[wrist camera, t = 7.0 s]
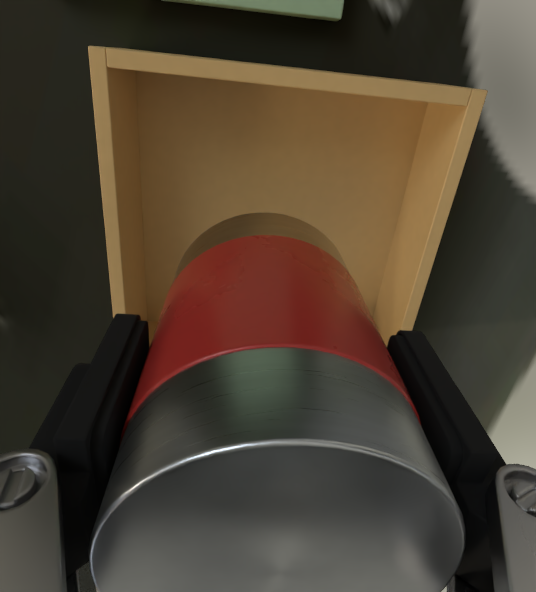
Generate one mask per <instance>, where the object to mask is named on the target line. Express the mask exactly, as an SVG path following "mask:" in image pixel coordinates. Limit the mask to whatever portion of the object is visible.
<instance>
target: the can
mask: <svg viewBox="0 0 536 592" xmlns="http://www.w3.org/2000/svg"><path fill="white" fill-rule="evenodd" d="M464 549H465V524H464V520H463V516H462V513H461V510H460V508H459V506H458V504H457V502H456V500H455V498H454V496H453V493H452V491H451V489H450V487H449V485H448V483H447V481H446V478H445V476H444V474H443V472H442V470H441V468H440V466H439V463H438V461H437V459H436V457H435V455H434V453H433V451H432V449H431V446H430V444H429V442H428V440H427V438H426V436H425V434H424V431H423V429H422V425H421V422H420V418H419V414H418V412H417V410H416V408H415V406H414V404H413V402H412V400H411V398H410V396H409V393H408V391H407V389H406V387H405V385H404V383H403V381H402V379H401V377H400V375H399V372H398V370H397V368H396V366H395V364H394V362H393V360H392V358H391V356H390V354H389V351H388V349H387V347H386V345H385V343H384V341H383V339H382V337H381V335H380V333H379V330H378V328H377V326H376V324H375V322H374V320H373V318H372V316H371V314H370V312H369V309H368V307H367V305H366V303H365V301H364V299H363V297H362V295H361V293H360V291H359V289H358V286H357V284H356V282H355V280H354V279H353V278H352V276H351V275H350V273H349V271H348V269H347V267H346V265H345V263H344V261H343V259H342V256H341V254H340V253H339V251H338V250H337V248H336V247H335V245H334V244H333V243H332V242H331V241H330V240H329V239H328V238H327V237H326V236H325V235H324V234H323V233H322V232H320V231H319V230H318V229H317V228H315V227H313V226H312V225H310V224H308V223H306V222H304V221H302V220H299V219H297V218H294V217H291V216H287V215H284V214H277V213H261V212H258V213H249V214H243V215H239V216H235V217H232V218H229V219H226V220H224V221H221V222H219V223H218V224H216V225H214V226H212V227H210V228H209V229H208V230H206V231H205V232H204V233H202V234H201V235H200V236H199V237H198V238H197V239H196V240H195V241H194V242H193V243H192V244H191V245H190V247H189V248H188V249H187V250H186V252H185V254H184V255H183V257H182V259H181V261H180V263H179V266H178V268H177V271H176V274H175V277H174V280H173V283H172V286H171V288H170V289H169V292H168V294H167V297H166V300H165V302H164V305H163V308H162V311H161V315H160V318H159V321H158V324H157V327H156V330H155V333H154V336H153V339H152V342H151V345H150V348H149V351H148V354H147V357H146V360H145V363H144V366H143V369H142V372H141V375H140V378H139V381H138V384H137V387H136V390H135V393H134V396H133V399H132V402H131V405H130V408H129V411H128V414H127V417H126V420H125V423H124V426H123V430H122V433H121V439H120V444H119V451H118V454H117V457H116V460H115V463H114V466H113V469H112V472H111V475H110V479H109V482H108V485H107V488H106V491H105V494H104V497H103V500H102V503H101V506H100V510H99V513H98V516H97V519H96V522H95V525H94V528H93V531H92V534H91V538H90V544H89V550H88V553H89V566H90V572H91V575H92V578H93V581H94V584H95V585H96V587H97V589H98V591H99V592H441V591H442V590H443V589H444V588H445V587H446V586H447V585H448V583H449V582H450V580H451V579H452V578H453V576H454V575H455V573H456V571H457V569H458V567H459V565H460V563H461V561H462V558H463V554H464Z"/></svg>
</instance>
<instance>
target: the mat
mask: <svg viewBox="0 0 536 592" xmlns="http://www.w3.org/2000/svg"><path fill="white" fill-rule="evenodd" d="M163 1H171V2H179V3H187V4H196V5H204V6H212V7H221V8H229V9H237V10H246V11H254V12H262V13H270V14H279V15H287V16H295V17H304V18H312V19H320V20H329V21H338V20H340V19H341V18H342V11H343V5H344V0H163Z"/></svg>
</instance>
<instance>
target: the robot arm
mask: <svg viewBox="0 0 536 592" xmlns="http://www.w3.org/2000/svg"><path fill="white" fill-rule="evenodd" d="M149 348H150V347H149V327H148V321H142V320H141V317H140V315H136V314H119V313H117V314H116V315H115V316H114V318H113V320H112V322H111V324H110V326H109V328H108V330H107V332H106V334H105V336H104V338H103V340H102V342H101V344H100V346H99V348H98V350H97V352H96V354H95V356H94V358H93V360H92V362H91V364H83V363H78V364H76V365H75V367H74V368H73V369H72V371H71V373H70V375H69V377H68V378H67V380H66V382H65V384H64V386H63V387H62V389H61V391H60V393H59V395H58V396H57V398H56V400H55V402H54V404H53V406H52V407H51V409H50V411H49V413H48V415H47V416H46V418H45V420H44V422H43V424H42V425H41V427H40V429H39V431H38V433H37V435H36V436H35V438H34V440H33V442H32V444H31V445H30V447H29V449H27V448H26V449H19V450H12V451H10V452H7V453H4V454H1V455H0V592H80V587H79V574H78V569H79V568H80V567H82V566H83V565H84V564H86V563H87V562H88V561H89V553H88V550H89V544H90V538H91V534H92V531H93V528H94V525H95V522H96V519H97V516H98V513H99V510H100V506H101V503H102V500H103V497H104V494H105V491H106V488H107V485H108V482H109V479H110V475H111V472H112V469H113V466H114V463H115V460H116V457H117V454H118V451H119V444H120V439H121V433H122V430H123V426H124V423H125V420H126V417H127V414H128V411H129V408H130V405H131V402H132V399H133V396H134V393H135V390H136V387H137V384H138V381H139V378H140V375H141V372H142V369H143V366H144V363H145V360H146V357H147V354H148V351H149ZM387 349H388V351H389V354H390V356H391V358H392V360H393V362H394V364H395V366H396V368H397V370H398V372H399V375H400V377H401V379H402V381H403V383H404V385H405V387H406V389H407V391H408V393H409V396H410V398H411V400H412V402H413V404H414V406H415V408H416V410H417V412H418V414H419V418H420V422H421V425H422V429H423V431H424V434H425V436H426V438H427V440H428V442H429V444H430V446H431V449H432V451H433V453H434V455H435V457H436V459H437V461H438V463H439V466H440V468H441V470H442V472H443V474H444V476H445V478H446V481H447V483H448V485H449V487H450V489H451V491H452V493H453V496H454V498H455V500H456V502H457V504H458V506H459V508H460V510H461V513H462V516H463V520H464V524H465V549H464V554H463V558H462V561H461V563H460V565H459V567H458V569H457V571H456V573H455V575H454V576H453V578H452V579H451V580H450V582H449V583H448V585H447V592H536V469H534V468H531V467H529V466H525V465H520V464H508V465H506V463H505V462H504V460H503V459H502V457H501V455H500V454H499V452H498V451H497V449H496V447H495V446H494V444H493V443H492V441H491V439H490V438H489V436H488V435H487V433H486V431H485V430H484V428H483V427H482V425H481V424H480V422H479V420H478V419H477V417H476V416H475V414H474V412H473V411H472V409H471V408H470V406H469V405H468V403H467V401H466V400H465V398H464V397H463V395H462V393H461V392H460V390H459V389H458V387H457V386H456V385H455V383H454V382H453V380H452V378H451V377H450V375H449V374H448V372H447V370H446V369H445V367H444V366H443V364H442V362H441V361H440V359H439V358H438V356H437V355H436V353H435V351H434V350H433V348H432V347H431V345H430V343H429V342H428V340H427V339H426V337H425V335H424V334H423V333H422V332H420V331H407V330H400V331H398V332H397V334H396V335H392V336H391V337H390V338H389V341H388V345H387Z"/></svg>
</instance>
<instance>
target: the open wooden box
mask: <svg viewBox="0 0 536 592" xmlns="http://www.w3.org/2000/svg"><path fill="white" fill-rule="evenodd" d="M88 52H89V63H90V74H91V84H92V95H93V106H94V116H95V127H96V138H97V148H98V159H99V170H100V181H101V191H102V202H103V213H104V223H105V234H106V245H107V255H108V266H109V277H110V287H111V298H112V309H113V318H114V316H115V315H116V314H117V313H119V314H136V315H140V317H141V320H142V321H148V327H149V347H150V345H151V342H152V339H153V336H154V333H155V330H156V327H157V324H158V321H159V318H160V315H161V311H162V308H163V305H164V302H165V300H166V297H167V294H168V292H169V289H170V288H171V286H172V283H173V280H174V277H175V274H176V271H177V268H178V266H179V263H180V261H181V259H182V257H183V255H184V254H185V252H186V250H187V249H188V248H189V247H190V245H191V244H192V243H193V242H194V241H195V240H196V239H197V238H198V237H199V236H200V235H201V234H202V233H204V232H205V231H206V230H208V229H209V228H210V227H212V226H214V225H216V224H218V223H219V222H221V221H224V220H226V219H229V218H232V217H235V216H239V215H243V214H249V213H258V212H261V213H277V214H284V215H287V216H291V217H294V218H297V219H299V220H302V221H304V222H306V223H308V224H310V225H312V226H313V227H315V228H317V229H318V230H319V231H320V232H322V233H323V234H324V235H325V236H326V237H327V238H328V239H329V240H330V241H331V242H332V243H333V244H334V245H335V247H336V248H337V250H338V251H339V253H340V254H341V256H342V259H343V261H344V263H345V265H346V267H347V269H348V271H349V273H350V275H351V276H352V278H353V279H354V280H355V282H356V284H357V286H358V289H359V291H360V293H361V295H362V297H363V299H364V301H365V303H366V305H367V307H368V309H369V312H370V314H371V316H372V318H373V320H374V322H375V324H376V326H377V328H378V330H379V333H380V335H381V337H382V339H383V341H384V343H385V345H386V347H387V345H388V341H389V338H390V337H391V336H392V335H396V334H397V332H398V331H400V330H407V331H412V329H413V326H414V323H415V319H416V316H417V313H418V310H419V307H420V304H421V300H422V297H423V294H424V291H425V288H426V285H427V282H428V278H429V275H430V272H431V269H432V266H433V263H434V259H435V256H436V253H437V250H438V247H439V244H440V241H441V237H442V234H443V231H444V228H445V225H446V222H447V218H448V215H449V212H450V209H451V206H452V203H453V200H454V196H455V193H456V190H457V187H458V184H459V181H460V177H461V174H462V171H463V168H464V165H465V162H466V159H467V155H468V152H469V149H470V146H471V143H472V140H473V136H474V133H475V130H476V127H477V124H478V121H479V118H480V114H481V111H482V108H483V105H484V102H485V99H486V95H487V92H488V91H487V90H482V89H474V88H467V87H460V86H453V85H445V84H438V83H429V82H420V81H411V80H402V79H393V78H384V77H375V76H366V75H357V74H349V73H340V72H331V71H322V70H313V69H304V68H295V67H286V66H277V65H268V64H259V63H250V62H242V61H233V60H224V59H215V58H206V57H197V56H188V55H179V54H170V53H161V52H152V51H143V50H135V49H125V48H113V47H100V46H88Z"/></svg>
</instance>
